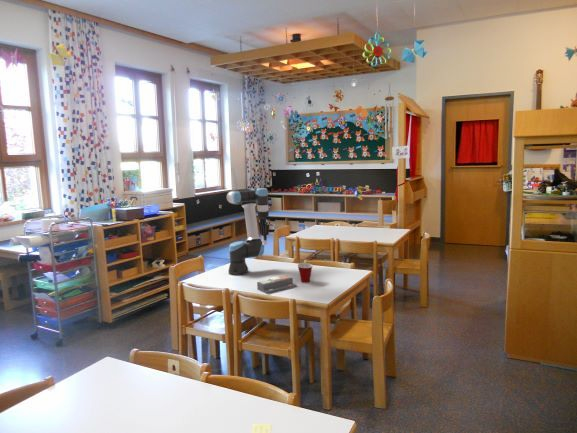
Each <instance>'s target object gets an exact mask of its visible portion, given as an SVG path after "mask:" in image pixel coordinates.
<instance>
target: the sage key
mask: <svg viewBox="0 0 577 433" xmlns="http://www.w3.org/2000/svg"><path fill="white" fill-rule="evenodd" d="M258 282H259V283H262V284H268V283H272V282H271V281H269V279H266V280H261V281H258Z"/></svg>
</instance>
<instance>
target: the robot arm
mask: <svg viewBox="0 0 577 433" xmlns="http://www.w3.org/2000/svg"><path fill="white" fill-rule="evenodd" d="M225 199H226V201H227V202H228V203H229V204H232V205H241V207H242V208H243V210H244V211H243V212H244V218H245V220H244V221H245V226H246V227H245V228H246V234H247V238H246V240H245V241H243V240H240V241H239V240H237V241H235V242H231V243H230V244H229V246H228V252H229V268H228V274H229V275H232V276H239V275H240V276H241V275H245V274H247V273H249V267H248V264H247V262H246V259H251V258H258V257H260V258H261V257H262V256H264V253H265V245H268V242H267V241H268V240H267V238H268V237H267V236H268V235H269V232H270V231H269V230H270V223H271V222H270V221H268V219H269V218H268V217H270V216H269V215H270V214H269V192H268V188H266V187H259V188H257V189H255V188H249V187H247V188H240V189H236V188H235V189H232V190H230V191H228V192H227V194H226V198H225ZM256 206H257V207H256ZM256 208H257V214H256ZM257 217H258V219H257ZM259 234H260V235H261V237H259Z"/></svg>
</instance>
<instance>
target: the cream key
mask: <svg viewBox="0 0 577 433" xmlns="http://www.w3.org/2000/svg"><path fill="white" fill-rule="evenodd" d="M279 277H280V276H273V277H269V278H268V280H269V281H272V282H277V281H281V278H279Z"/></svg>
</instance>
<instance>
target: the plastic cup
mask: <svg viewBox="0 0 577 433" xmlns="http://www.w3.org/2000/svg"><path fill="white" fill-rule="evenodd" d="M313 267H314V265H313V264H311V263H307V262H302V263H301V262H300V263H298V264H297V268H298V272H299V273H298V274H299V277H300V280H301V281H300V282H301V283H310V281H311V276H312V269H313Z"/></svg>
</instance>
